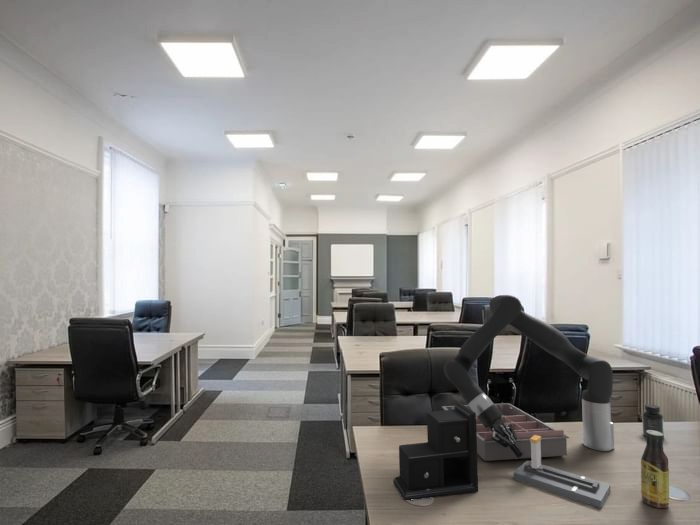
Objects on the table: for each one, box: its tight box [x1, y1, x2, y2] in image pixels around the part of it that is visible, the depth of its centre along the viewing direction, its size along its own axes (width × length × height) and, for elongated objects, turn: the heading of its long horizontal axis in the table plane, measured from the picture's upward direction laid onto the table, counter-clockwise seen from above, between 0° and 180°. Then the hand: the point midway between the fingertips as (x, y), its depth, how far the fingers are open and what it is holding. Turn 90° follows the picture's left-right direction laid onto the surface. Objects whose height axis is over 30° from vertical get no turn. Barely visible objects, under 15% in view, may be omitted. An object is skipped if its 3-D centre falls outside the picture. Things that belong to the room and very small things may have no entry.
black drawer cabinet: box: [392, 402, 479, 501], centre depth 121 cm, size 23×11×24 cm, turn 101°
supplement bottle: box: [641, 404, 665, 437], centre depth 161 cm, size 7×7×12 cm
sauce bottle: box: [640, 430, 670, 509], centre depth 112 cm, size 7×6×20 cm
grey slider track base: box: [513, 460, 612, 509], centre depth 122 cm, size 24×12×4 cm, turn 46°
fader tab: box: [530, 435, 543, 471], centre depth 127 cm, size 4×4×10 cm
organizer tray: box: [441, 402, 570, 462], centre depth 157 cm, size 32×40×10 cm
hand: (521, 455), depth 130 cm, fingers closed
